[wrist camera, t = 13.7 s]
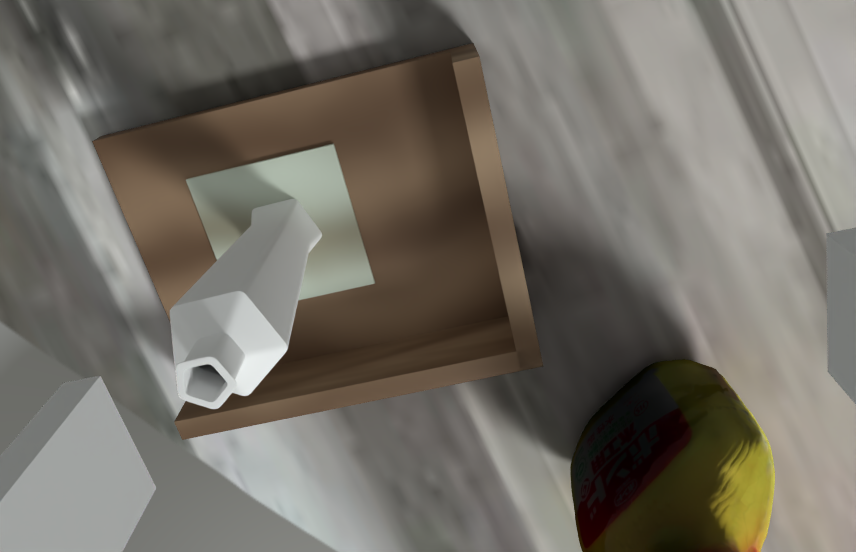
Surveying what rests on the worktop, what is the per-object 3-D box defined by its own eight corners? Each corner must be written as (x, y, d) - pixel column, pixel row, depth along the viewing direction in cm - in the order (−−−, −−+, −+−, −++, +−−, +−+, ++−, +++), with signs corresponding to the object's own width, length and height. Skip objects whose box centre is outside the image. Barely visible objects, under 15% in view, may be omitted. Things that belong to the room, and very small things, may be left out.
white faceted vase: (222, 221, 39) (107, 366, 25) (288, 178, 38) (206, 305, 24) (274, 287, 40) (193, 458, 27) (339, 247, 39) (290, 404, 26)
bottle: (595, 498, 48) (695, 833, 30) (528, 443, 46) (591, 763, 28) (742, 385, 45) (960, 686, 26) (676, 321, 43) (858, 596, 24)
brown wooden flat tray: (101, 135, 38) (55, 161, 34) (473, 43, 37) (479, 56, 32) (209, 388, 45) (182, 439, 40) (531, 320, 43) (543, 366, 38)
